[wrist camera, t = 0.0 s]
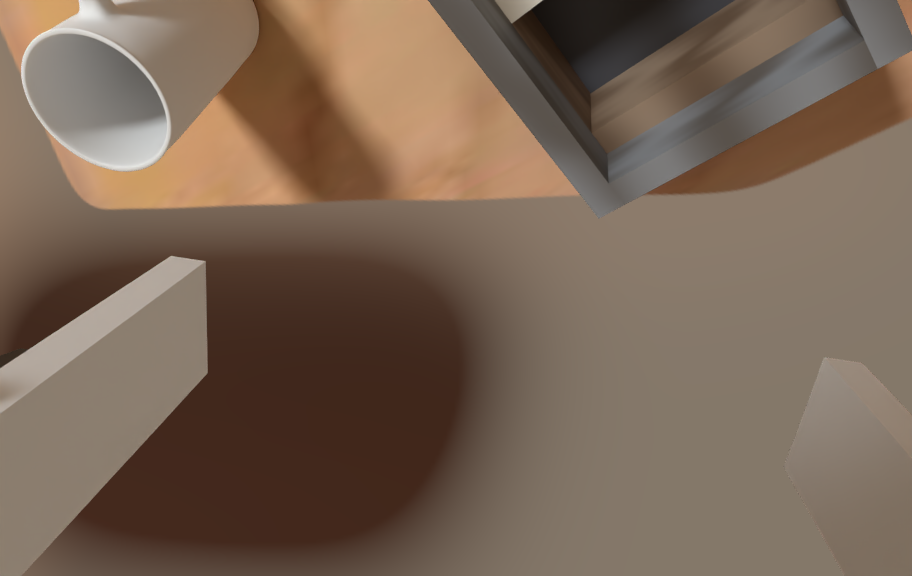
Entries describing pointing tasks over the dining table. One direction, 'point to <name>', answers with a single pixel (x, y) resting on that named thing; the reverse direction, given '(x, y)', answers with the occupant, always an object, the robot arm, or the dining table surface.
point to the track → (666, 75)
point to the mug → (134, 73)
